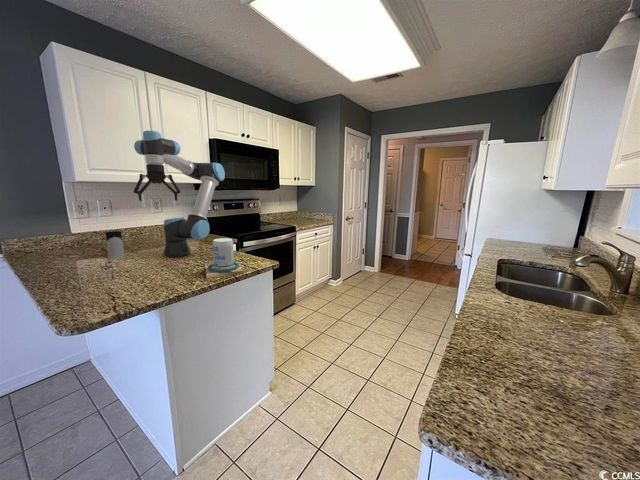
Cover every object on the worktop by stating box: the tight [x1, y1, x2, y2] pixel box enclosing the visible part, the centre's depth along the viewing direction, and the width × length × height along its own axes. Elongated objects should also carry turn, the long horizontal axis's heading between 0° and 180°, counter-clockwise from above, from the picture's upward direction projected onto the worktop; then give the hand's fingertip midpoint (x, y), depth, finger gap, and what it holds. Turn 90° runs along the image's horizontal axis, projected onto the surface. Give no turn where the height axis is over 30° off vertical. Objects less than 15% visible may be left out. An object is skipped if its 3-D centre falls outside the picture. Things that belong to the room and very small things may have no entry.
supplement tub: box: [212, 237, 235, 270], centre depth 134 cm, size 10×10×15 cm
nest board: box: [204, 261, 245, 279], centre depth 135 cm, size 18×17×3 cm
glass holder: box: [104, 230, 126, 259], centre depth 161 cm, size 9×14×15 cm, turn 41°
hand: (159, 207), depth 135 cm, fingers open, 13 cm apart
